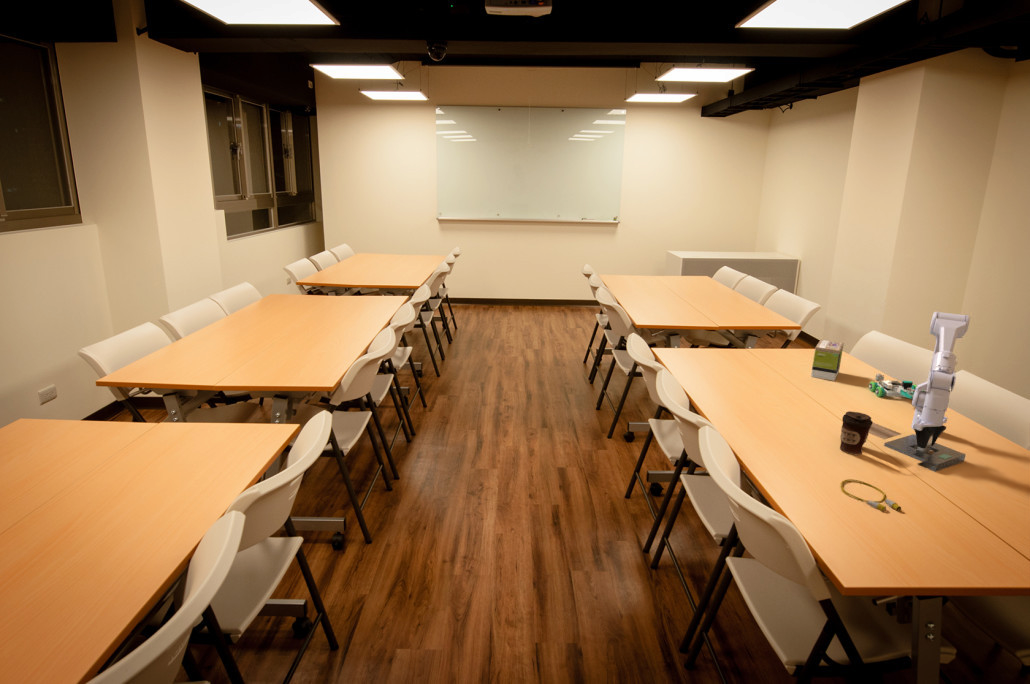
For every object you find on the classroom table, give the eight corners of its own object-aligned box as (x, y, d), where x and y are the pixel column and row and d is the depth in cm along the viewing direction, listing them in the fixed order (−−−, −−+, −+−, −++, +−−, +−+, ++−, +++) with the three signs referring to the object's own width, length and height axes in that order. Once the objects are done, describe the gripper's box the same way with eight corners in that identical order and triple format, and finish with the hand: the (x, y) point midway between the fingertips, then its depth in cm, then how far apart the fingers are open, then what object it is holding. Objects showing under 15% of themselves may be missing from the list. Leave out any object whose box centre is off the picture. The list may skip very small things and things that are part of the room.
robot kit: (890, 409, 219) (895, 387, 216) (863, 387, 243) (868, 367, 240) (942, 413, 216) (948, 391, 214) (910, 390, 240) (915, 370, 237)
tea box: (815, 368, 265) (820, 338, 261) (839, 372, 260) (844, 342, 256) (810, 376, 254) (815, 346, 250) (834, 381, 248) (840, 350, 244)
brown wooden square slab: (872, 426, 203) (873, 422, 202) (900, 437, 194) (901, 433, 194) (855, 431, 199) (855, 427, 198) (883, 443, 190) (884, 439, 190)
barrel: (919, 446, 184) (922, 430, 183) (932, 451, 181) (935, 434, 179) (912, 449, 183) (915, 432, 181) (925, 453, 179) (928, 436, 178)
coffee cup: (854, 459, 179) (862, 422, 175) (830, 448, 186) (837, 412, 182) (870, 453, 182) (878, 417, 179) (846, 443, 190) (853, 408, 186)
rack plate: (911, 440, 192) (913, 433, 191) (963, 461, 178) (965, 454, 178) (883, 449, 185) (884, 442, 185) (935, 471, 172) (937, 464, 171)
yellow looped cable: (854, 510, 152) (855, 503, 151) (833, 480, 167) (834, 474, 166) (903, 515, 150) (904, 509, 149) (877, 485, 164) (879, 479, 164)
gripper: (934, 399, 183) (924, 436, 187) (907, 406, 177) (898, 445, 181) (958, 407, 177) (948, 445, 181) (931, 414, 171) (922, 454, 175)
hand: (925, 446), depth 181 cm, fingers closed on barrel, 4 cm apart
